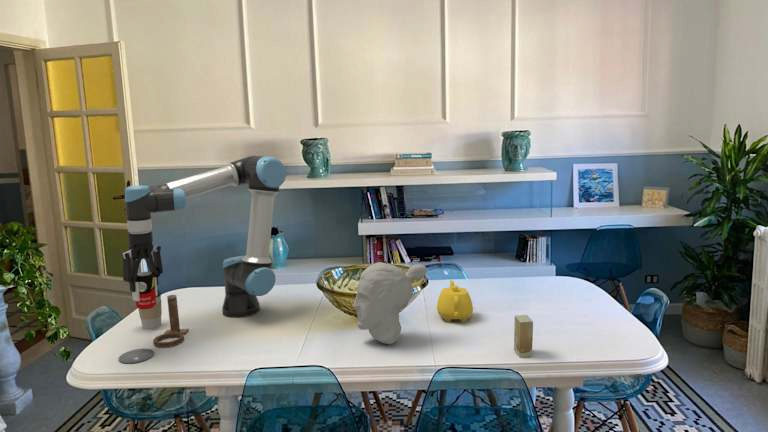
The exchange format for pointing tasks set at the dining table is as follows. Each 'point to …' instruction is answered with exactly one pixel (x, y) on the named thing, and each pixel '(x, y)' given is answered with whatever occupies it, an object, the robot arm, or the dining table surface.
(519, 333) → the skincare box
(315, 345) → the dining table surface
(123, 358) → the slate coaster
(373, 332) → the bust
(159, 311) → the coffee cup
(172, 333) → the ring holder
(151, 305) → the beverage can
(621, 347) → the dining table surface
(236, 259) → the robot arm
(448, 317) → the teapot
